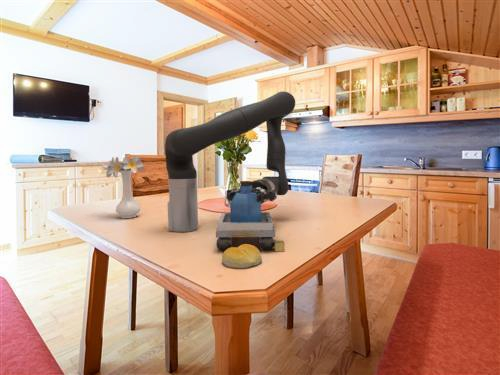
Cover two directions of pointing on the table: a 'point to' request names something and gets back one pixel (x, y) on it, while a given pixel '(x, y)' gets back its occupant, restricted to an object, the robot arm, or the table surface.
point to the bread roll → (242, 256)
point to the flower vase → (125, 183)
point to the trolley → (248, 232)
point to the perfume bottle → (245, 205)
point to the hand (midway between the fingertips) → (243, 197)
